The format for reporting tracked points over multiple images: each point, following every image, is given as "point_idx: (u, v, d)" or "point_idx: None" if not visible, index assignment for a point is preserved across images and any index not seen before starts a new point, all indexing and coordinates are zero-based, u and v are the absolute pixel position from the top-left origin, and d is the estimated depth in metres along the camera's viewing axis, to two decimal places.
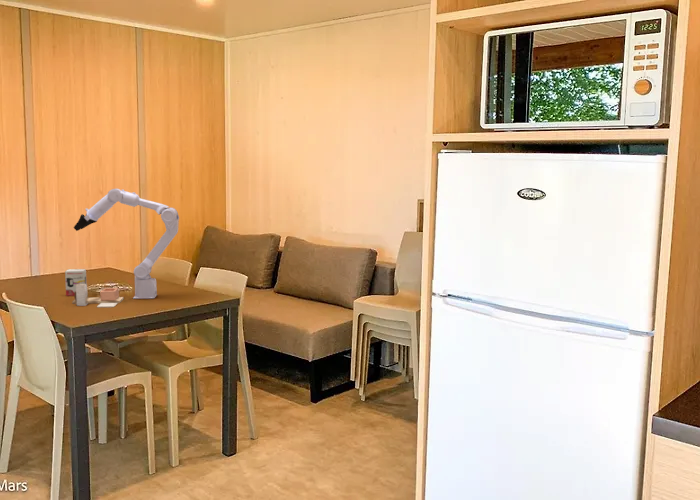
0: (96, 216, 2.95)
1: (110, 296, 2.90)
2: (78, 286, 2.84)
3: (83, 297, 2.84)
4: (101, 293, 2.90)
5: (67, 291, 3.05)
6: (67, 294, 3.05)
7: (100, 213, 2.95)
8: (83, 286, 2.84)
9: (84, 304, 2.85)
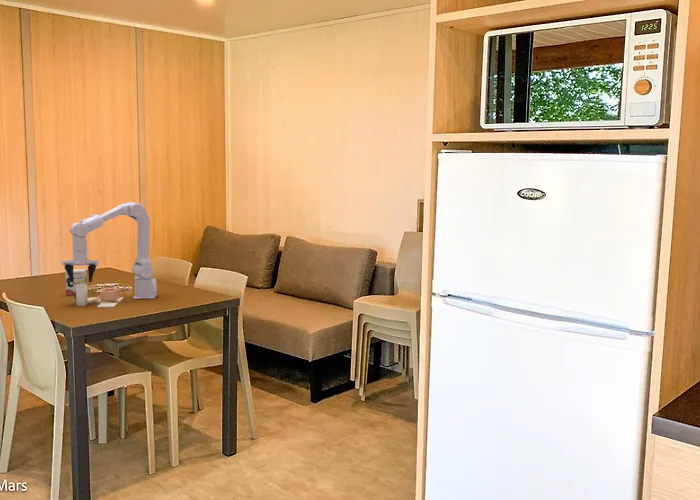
0: None
1: (110, 296, 2.90)
2: (78, 286, 2.84)
3: (83, 297, 2.84)
4: (101, 293, 2.90)
5: (67, 291, 3.05)
6: (67, 294, 3.05)
7: None
8: (83, 286, 2.84)
9: (84, 304, 2.85)
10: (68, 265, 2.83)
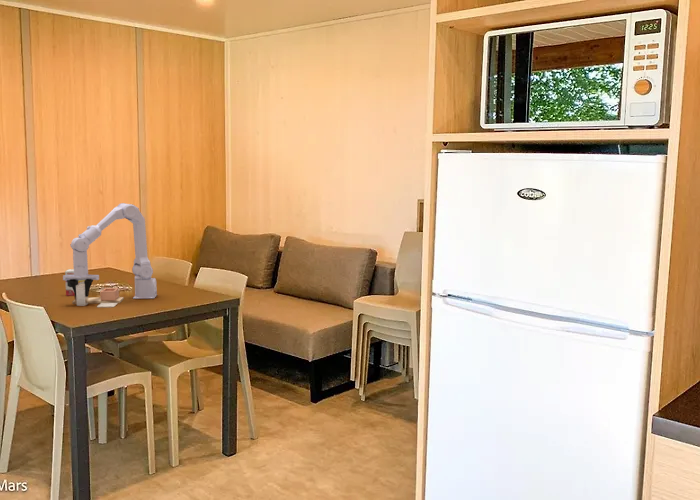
0: None
1: (110, 296, 2.90)
2: (78, 286, 2.84)
3: (83, 297, 2.84)
4: (101, 293, 2.90)
5: (67, 291, 3.05)
6: (67, 294, 3.05)
7: None
8: (83, 286, 2.84)
9: (84, 304, 2.85)
10: None
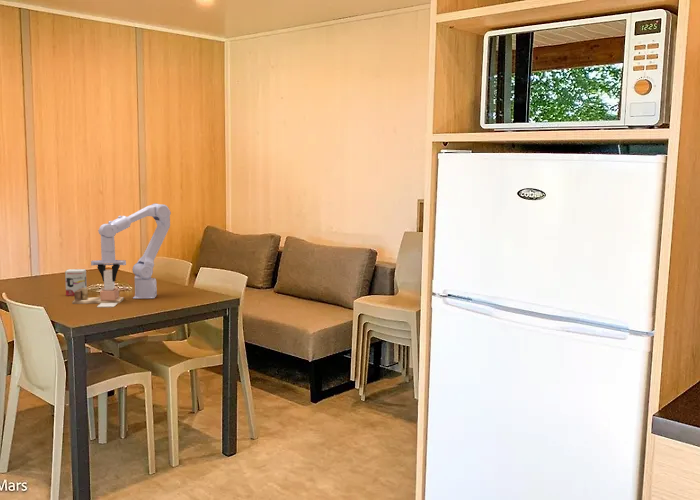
0: None
1: (110, 296, 2.90)
2: (105, 271, 2.91)
3: (110, 282, 2.92)
4: (101, 293, 2.90)
5: (67, 291, 3.05)
6: (67, 294, 3.05)
7: None
8: (110, 272, 2.91)
9: (111, 289, 2.92)
10: None
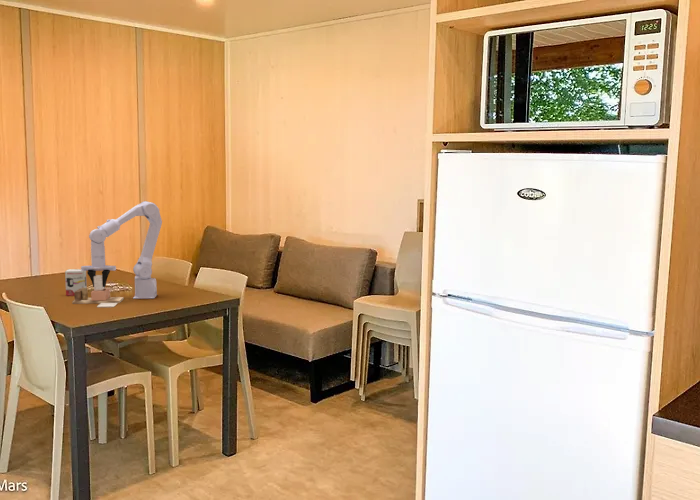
0: None
1: (101, 296, 2.90)
2: (95, 277, 2.91)
3: (101, 288, 2.92)
4: (92, 293, 2.89)
5: (67, 291, 3.05)
6: (67, 294, 3.05)
7: None
8: (101, 277, 2.91)
9: None
10: (87, 270, 2.91)
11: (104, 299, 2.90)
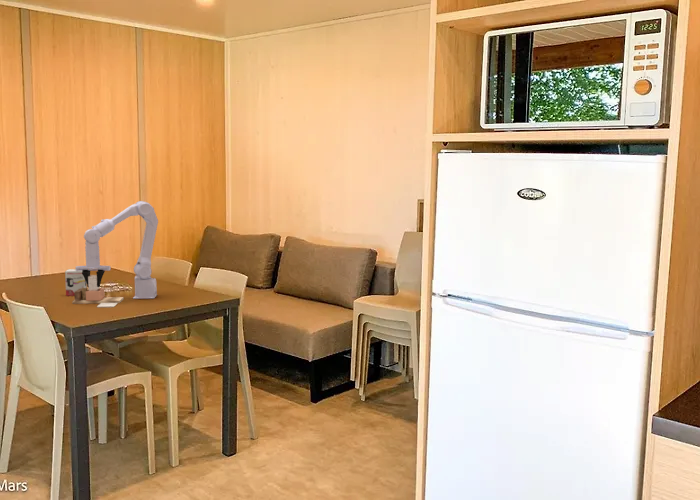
0: None
1: (95, 296, 2.90)
2: (90, 277, 2.90)
3: (95, 288, 2.91)
4: (86, 293, 2.89)
5: (67, 291, 3.05)
6: (67, 294, 3.05)
7: None
8: (95, 277, 2.91)
9: None
10: (81, 270, 2.91)
11: (98, 299, 2.90)
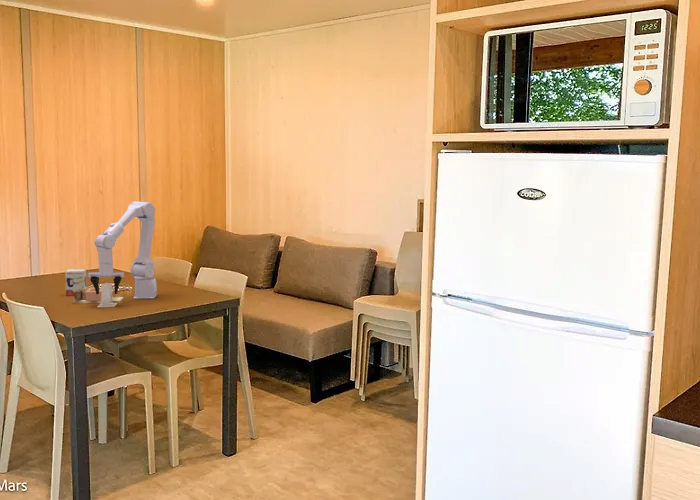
0: None
1: (95, 296, 2.90)
2: (103, 285, 2.83)
3: (108, 297, 2.84)
4: (86, 293, 2.89)
5: (67, 291, 3.05)
6: (67, 294, 3.05)
7: None
8: (108, 286, 2.83)
9: (109, 304, 2.84)
10: (94, 277, 2.83)
11: (98, 299, 2.90)
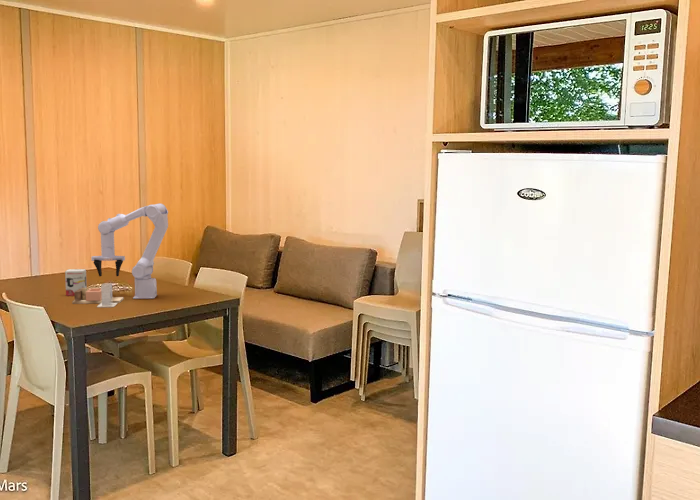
0: None
1: (95, 296, 2.90)
2: (103, 285, 2.83)
3: (108, 297, 2.84)
4: (86, 293, 2.89)
5: (67, 291, 3.05)
6: (67, 294, 3.05)
7: None
8: (108, 286, 2.83)
9: (109, 304, 2.84)
10: (97, 260, 3.03)
11: (98, 299, 2.90)
